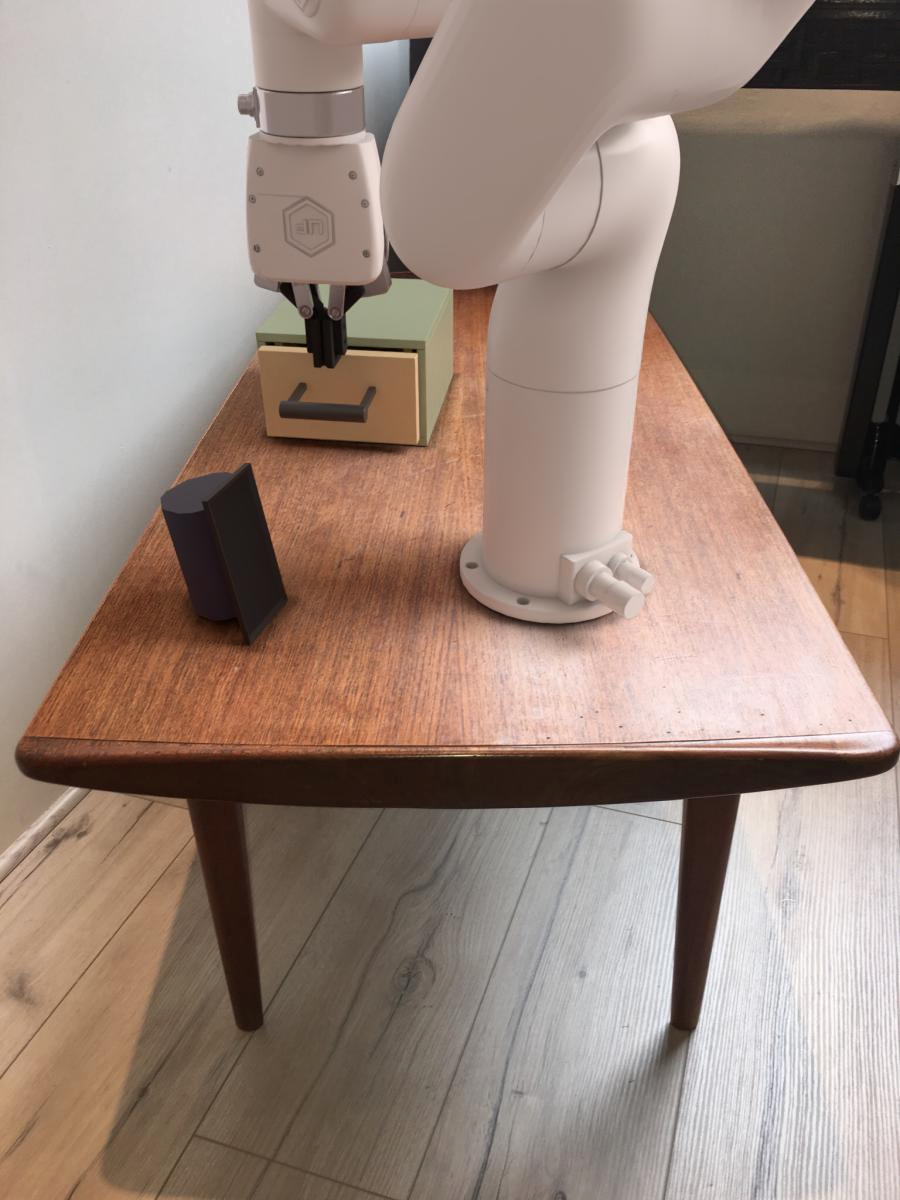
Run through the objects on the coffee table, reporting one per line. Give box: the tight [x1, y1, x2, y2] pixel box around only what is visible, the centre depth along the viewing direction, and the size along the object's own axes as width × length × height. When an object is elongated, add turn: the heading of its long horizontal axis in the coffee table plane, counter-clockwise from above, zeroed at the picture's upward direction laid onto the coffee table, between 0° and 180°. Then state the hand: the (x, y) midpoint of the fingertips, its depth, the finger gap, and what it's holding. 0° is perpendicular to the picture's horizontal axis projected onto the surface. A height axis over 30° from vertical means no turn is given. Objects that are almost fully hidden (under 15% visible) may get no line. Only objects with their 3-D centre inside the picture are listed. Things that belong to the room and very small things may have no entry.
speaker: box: [159, 462, 289, 646], centre depth 65 cm, size 8×6×10 cm
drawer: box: [257, 342, 419, 446], centre depth 88 cm, size 21×13×8 cm, turn 172°
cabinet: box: [255, 277, 454, 447], centre depth 92 cm, size 17×15×10 cm
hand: (328, 361), depth 81 cm, fingers closed
